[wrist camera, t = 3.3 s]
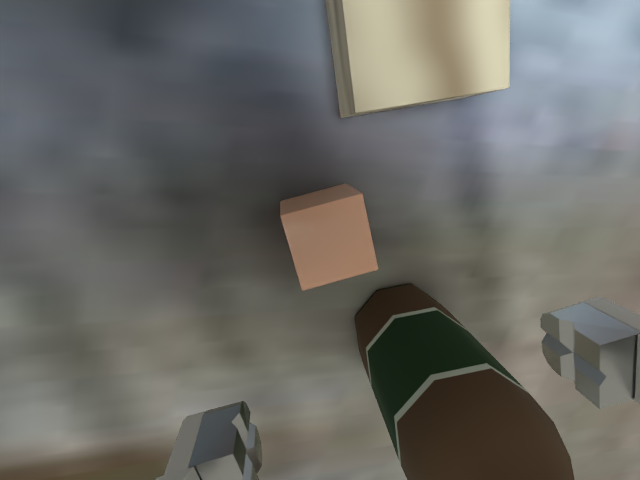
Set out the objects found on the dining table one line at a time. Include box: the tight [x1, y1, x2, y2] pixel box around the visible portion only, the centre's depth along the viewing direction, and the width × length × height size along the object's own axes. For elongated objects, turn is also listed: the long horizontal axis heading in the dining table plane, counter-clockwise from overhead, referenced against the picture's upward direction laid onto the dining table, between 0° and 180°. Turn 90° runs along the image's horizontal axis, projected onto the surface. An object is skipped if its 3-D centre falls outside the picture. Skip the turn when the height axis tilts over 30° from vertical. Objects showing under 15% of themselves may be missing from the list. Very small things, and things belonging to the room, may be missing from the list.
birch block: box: [325, 0, 510, 118], centre depth 20 cm, size 9×9×5 cm
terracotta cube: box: [280, 183, 378, 291], centre depth 23 cm, size 5×5×5 cm
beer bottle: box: [355, 284, 574, 480], centre depth 17 cm, size 8×8×24 cm
